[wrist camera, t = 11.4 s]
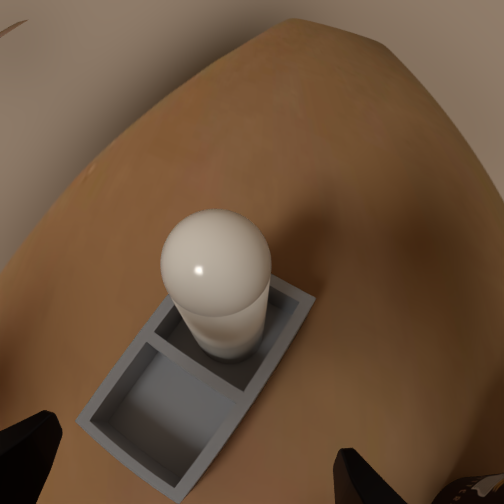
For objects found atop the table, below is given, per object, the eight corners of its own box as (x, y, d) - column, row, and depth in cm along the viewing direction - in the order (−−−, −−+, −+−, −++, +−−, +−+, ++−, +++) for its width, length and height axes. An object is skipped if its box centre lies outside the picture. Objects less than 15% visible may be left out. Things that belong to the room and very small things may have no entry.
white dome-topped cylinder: (223, 377, 21) (193, 320, 10) (183, 325, 23) (126, 227, 12) (277, 335, 22) (301, 241, 12) (235, 288, 24) (223, 168, 14)
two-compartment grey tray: (189, 492, 17) (178, 504, 14) (97, 423, 19) (75, 421, 16) (307, 315, 24) (315, 298, 21) (215, 263, 26) (210, 240, 23)
